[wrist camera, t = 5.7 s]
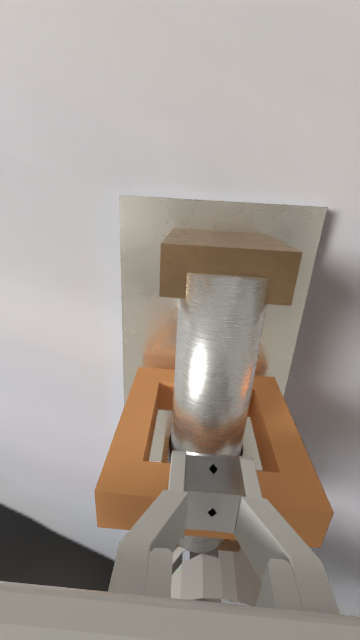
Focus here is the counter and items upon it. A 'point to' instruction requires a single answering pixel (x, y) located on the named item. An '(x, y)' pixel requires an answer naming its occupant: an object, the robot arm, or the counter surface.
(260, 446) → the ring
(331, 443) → the counter surface
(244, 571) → the french press
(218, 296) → the pipe rig
